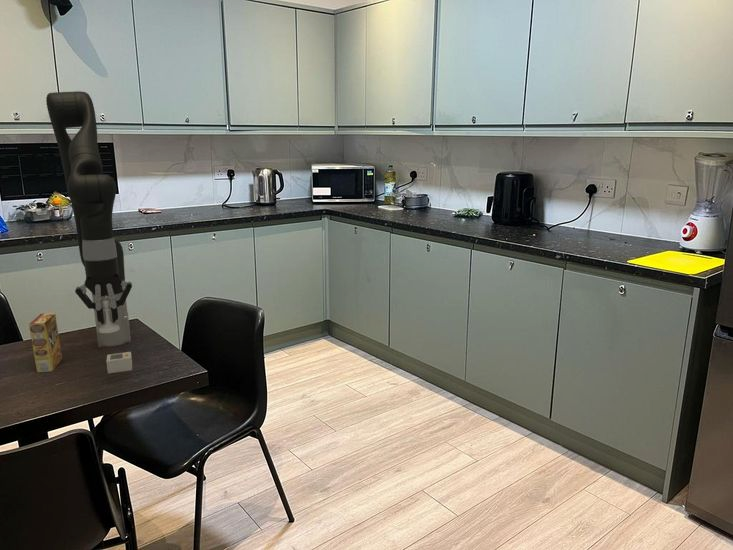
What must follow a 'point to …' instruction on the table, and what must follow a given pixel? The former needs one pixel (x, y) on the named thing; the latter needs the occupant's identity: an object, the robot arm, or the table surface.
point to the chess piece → (108, 319)
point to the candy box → (45, 342)
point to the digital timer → (119, 362)
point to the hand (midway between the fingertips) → (108, 322)
